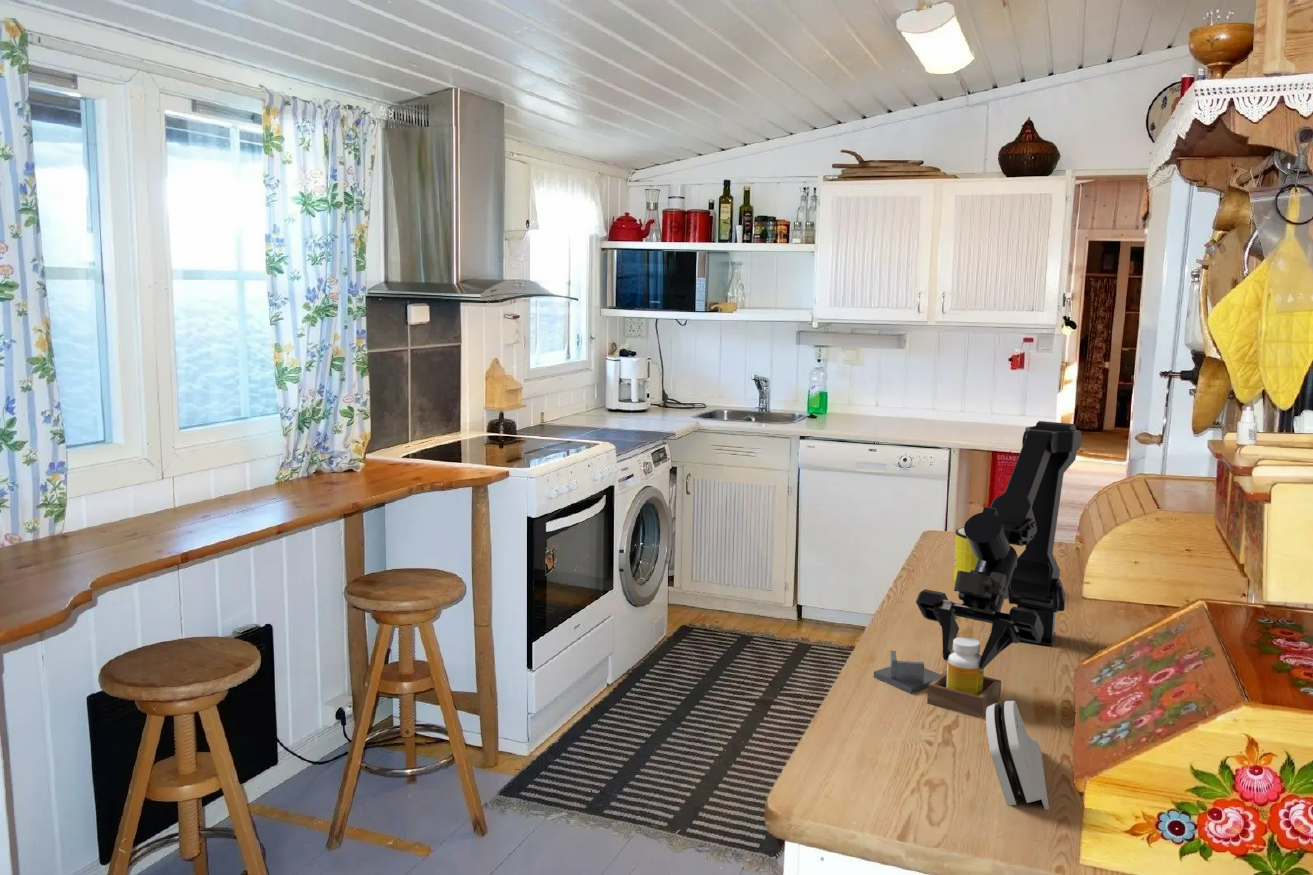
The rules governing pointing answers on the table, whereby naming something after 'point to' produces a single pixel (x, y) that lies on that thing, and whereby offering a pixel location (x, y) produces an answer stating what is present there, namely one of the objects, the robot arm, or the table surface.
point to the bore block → (963, 696)
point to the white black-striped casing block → (1015, 755)
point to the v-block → (906, 675)
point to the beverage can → (963, 554)
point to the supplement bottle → (965, 666)
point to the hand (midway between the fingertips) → (962, 663)
